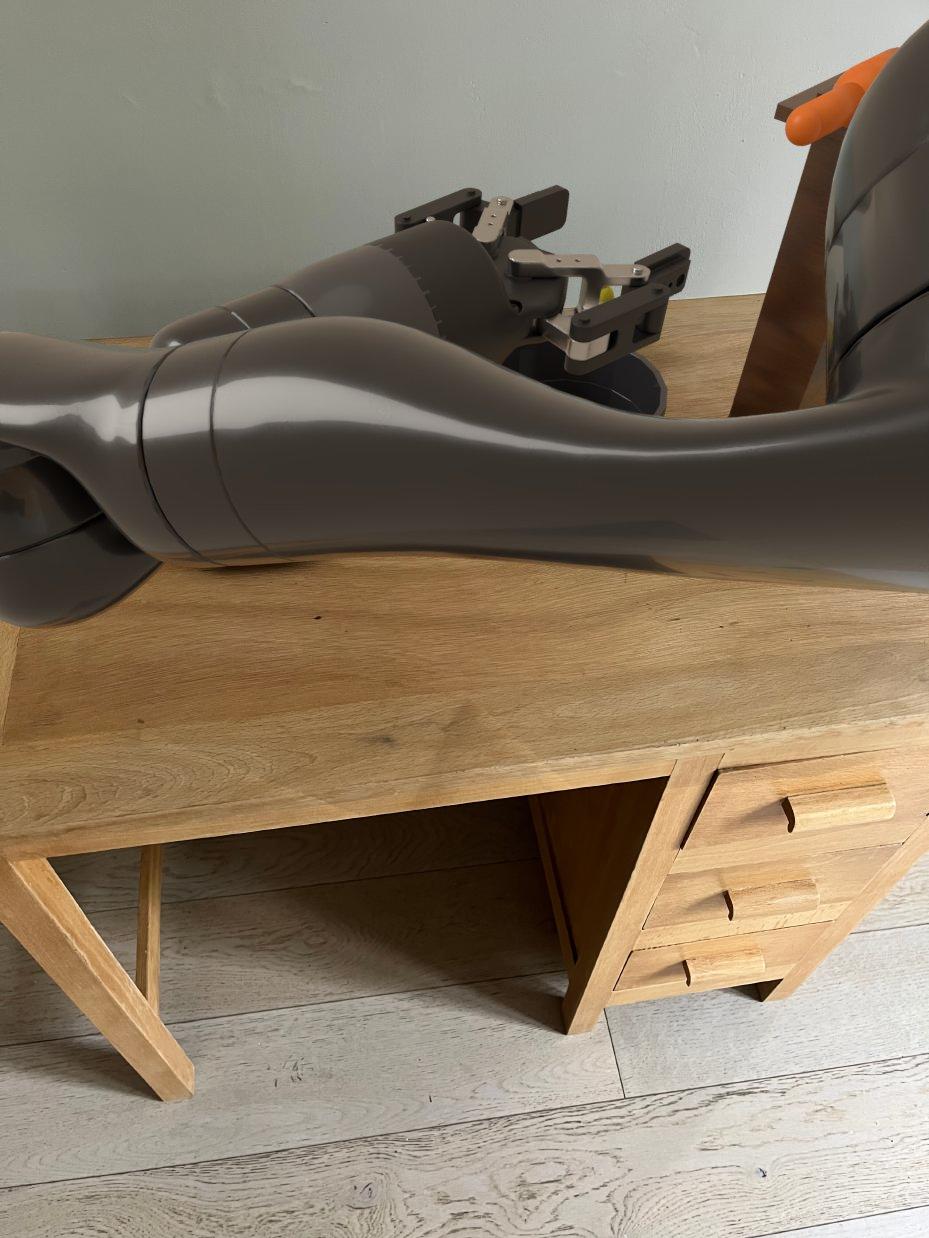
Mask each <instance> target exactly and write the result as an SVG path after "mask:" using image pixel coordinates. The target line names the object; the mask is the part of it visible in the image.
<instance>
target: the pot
mask: <svg viewBox="0 0 929 1238" xmlns="http://www.w3.org/2000/svg"><path fill="white" fill-rule="evenodd" d="M565 357H566V352H565V351H563V350H562V349H560V348H559V347H557V346H556V345H554V344H553V343H551V342H550V341H546V342H543V343H536V344H527V345H522V346H519V347H517V348H515V349H514V350H513V351H512V352H511V354H510V355H509V356H508V357H507V358H506V359H505V361H504V362H503V363H502V364H501V365H503V366H505V367H507V368H509V369H511V370H513V371H516V372H518V373H520V374H523V375H525V376H527V377H529V378H532V379H534V380H536V381H539V382H541V383H543V384H546V385H548V386H550V387H553V388H555V389H557V390H559V391H562V392H565V393H568V394H571V395H575V396H578V397H581V398H584V399H587V400H590V401H593V402H596V403H599V404H602V405H605V406H608V407H611V408H616V409H621V410H625V411H630V412H634V413H639V414H647V415H656V416H665V415H666V411H667V407H668V391H669V389H668V386H667V384H666V382H665V380H664V377H663V376H662V373H661V371H660V370H659V369H658V368H657V367H656V366H655V365H654V364H653V363H652V362H651V361H650V360H648V359H647V357H646V356H644V355H643V354H641V353H639V352H637V351H635V352H633V353H630V354H628V355H626V356H624V357H622V358H619V359H617V360H615V361H613V362H611V363H608V364H606V365H604V366H602V367H600V368H598V369H595V370H593V371H591V372H589V373H587V374H584V375H574V374H571V373H568V372H567V371H566V370H565V368H564V364H565ZM665 417H666V416H665Z"/></svg>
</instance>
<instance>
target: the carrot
mask: <svg viewBox="0 0 929 1238" xmlns="http://www.w3.org/2000/svg"><path fill="white" fill-rule="evenodd" d="M900 47H901V46H895V47H892V48H888V49H886V50H884V51H881V52H880V53H878V54H876V55H874V56H871V57H870V58H867V59H865V60H863V61H861V62H859V63H857V64H854V65H853V66H851V67H849V68H848V69H846V70H845V71H846V72H844V71H843V72H844V73H843V74H842V75H841V76H840V77H839V79H838V80H837V82H836V83H835V85H834V87H833V90H831V91H829V92H827V93H825V94H823V95H821V96H819V97H817V98H815V99H813V100H811V101H809V102H807V103H805V104H803V105H801V106H799V107H797V108H796V109H795V110H793V112H792V113H791V114H790V115H789V117H788V119H787V121H786V123H785V126H784V133H785V136H786V138H787V140H788V142H790V143H791V144H792V145H794V146H797V147H806V146H810V145H811V143H813V142H815V141H817V140H819V139H820V138H822V137H824V136H826V135H828V134H830V133H832V132H833V131H835V130H837V129H839V128H841V127H846V128H848V126H849V124H850V122H851V120H852V118H853V116H854V114H855V111H856V109H857V107H858V105H859V103H860V101H861V99H862V97H863V96H864V94H865V93H866V91H867V90H868V89H869V87H870V86H871V84H872V83H873V81H874V80H875V78H876V77H877V75H878V74H879V73H880V71H881V70H882V68H883V67H884V65H885V64H886V62H887V61H888V60H889V59H890V58H891V56H892V55H893V54H894V53H895V52H896V51H897V50H898V49H899V48H900Z"/></svg>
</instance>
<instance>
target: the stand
mask: <svg viewBox="0 0 929 1238" xmlns="http://www.w3.org/2000/svg"><path fill="white" fill-rule="evenodd" d="M846 71H847V70H845V71H842V72H840V73H838V74H836V75H833V76H832V77H829V78H827V79H825V80H823V81H821V82H819V83H817V84H815V85H813V86H810V87H809V88H807V89H805V90H802V91H800V92H798V93H796V94H794V95H792V96H790V97H787V98H786V99H783V100H781V101H779V102H777V104H776V108H775V112H774V116H773V119H774V120H777V121H778V122H779V121H780V122H782V123H785V124H786V121H787V119H788V117H789V115H790V114H791V113H792V112H793V110H795V109H796V108H797V107H799V106H801V105H803V104H805V103H807V102H809V101H811V100H813V99H815V98H817V97H819V96H821V95H823V94H825V93H827V92H829V91H831V90H833V87H834V85H835V83H836V82H837V80H838V79H839V77H840V76H841V75H842V74H843V73H844V72H846ZM847 129H848V128H846V127H841V128H839V129H837V130H835V131H833V132H832V133H830V134H828V135H826V136H824V137H822V138H820V139H819V140H817V141H815V142H813V143H811V144H810V145H809V149H808V153H807V156H806V159H805V162H804V166H803V169H802V172H801V176H800V178H799V183H798V186H797V188H796V193H795V194H794V195H795V196H794V198H793V202H792V206H791V208H790V211H789V215H788V218H787V222H786V224H785V225H786V226H785V228H784V232H783V235H782V238H781V242H780V244H779V245H780V246H779V248H778V251H777V255H776V258H775V261H774V265H773V268H772V272H771V275H770V278H769V282H768V285H767V287H766V290H765V291H766V292H765V296H764V299H763V301H762V305H761V308H760V312H759V314H758V318H757V322H756V325H755V328H754V331H753V334H752V338H751V341H750V344H749V348H748V350H747V351H748V352H747V355H746V357H745V360H744V364H743V368H742V371H741V374H740V377H739V381H738V384H737V387H736V390H735V393H734V397H733V401H732V403H731V408H730V410H729V414H728V416H727V417H726V418H732V417H743V416H752V415H761V414H770V413H779V412H786V411H792V410H799V409H805V408H811V407H817V406H823V405H826V403H825V399H826V354H825V282H826V278H825V272H824V264H825V233H826V220H827V212H828V206H829V200H830V194H831V188H832V183H833V177H834V173H835V170H836V166H837V162H838V158H839V154H840V150H841V146H842V143H843V140H844V137H845V134H846V132H847Z"/></svg>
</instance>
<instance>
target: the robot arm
mask: <svg viewBox="0 0 929 1238" xmlns="http://www.w3.org/2000/svg"><path fill="white" fill-rule="evenodd" d="M899 47H900V48H899V49H898V50H897V51H896V52H895V53H894V54H893V55H892V56H891V58H890V59H889V60H888V61H887V62H886V64H885V65H884V67H883V68H882V70H881V71H880V73H879V74H878V75H877V77H876V78H875V80H874V81H873V83H872V84H871V86H870V87H869V89H868V90H867V91H866V93H865V94H864V96H863V97H862V99H861V101H860V103H859V105H858V107H857V109H856V111H855V114H854V116H853V118H852V120H851V122H850V124H849V126H848V129H847V132H846V134H845V137H844V140H843V143H842V146H841V150H840V154H839V158H838V162H837V166H836V170H835V173H834V177H833V183H832V188H831V194H830V200H829V206H828V212H827V220H826V233H825V264H824V272H825V278H826V282H825V354H826V399H825V403H826V405H823V406H817V407H811V408H805V409H799V410H792V411H786V412H779V413H770V414H761V415H752V416H743V417H732V418H727V417H716V418H715V417H714V418H704V417H703V418H702V417H701V418H700V417H698V418H697V417H674V416H673V417H672V416H656V415H647V414H639V413H634V412H630V411H625V410H621V409H616V408H611V407H608V406H605V405H602V404H599V403H596V402H593V401H590V400H587V399H584V398H581V397H578V396H575V395H571V394H568V393H565V392H562V391H559V390H557V389H555V388H553V387H550V386H548V385H546V384H543V383H541V382H539V381H536V380H534V379H532V378H529V377H527V376H525V375H523V374H520V373H518V372H516V371H513V370H511V369H509V368H507V367H505V366H503V365H501V364H502V363H503V362H504V361H505V359H506V358H507V357H508V356H509V355H510V354H511V352H512V351H513V350H514V349H515V348H517V347H519V346H522V345H527V344H536V343H543V342H546V341H550V342H551V343H553V344H554V345H556V346H557V347H559V348H560V349H562V350H563V351H565V352H566V357H565V364H564V368H565V370H566V371H567V372H568V373H571V374H574V375H584V374H587V373H589V372H591V371H593V370H595V369H598V368H600V367H602V366H604V365H606V364H608V363H611V362H613V361H615V360H617V359H619V358H622V357H624V356H626V355H628V354H630V353H633V352H635V351H636V352H637V351H639V350H642V349H644V348H645V347H646V348H647V347H648V346H650V345H652V344H654V343H657V342H658V341H660V339H661V336H662V331H663V327H664V322H665V319H666V314H667V310H668V306H669V300H670V298H671V297H673V296H674V295H677V294H679V293H681V292H683V289H685V286H686V283H687V279H688V274H689V271H690V267H691V263H692V260H691V259H690V257H691V248H690V247H688V246H685V245H684V244H682V243H680V242H675V243H672V244H670V245H668V246H667V247H664V248H662V249H660V250H658V251H656V252H653V253H651V254H649V255H647V256H644V257H642V258H640V259H637V260H635V261H634V263H631V264H630V263H629V264H628V263H627V264H626V263H625V264H624V263H622V264H615V263H613V264H609V263H608V264H604V263H602V262H601V259H600V258H599V257H598V256H597V255H595V254H593V253H592V254H587V253H586V254H583V253H582V254H556V253H553V252H550V251H548V250H545V249H541V248H540V247H538V246H537V245H536V244H535V243H534V242H532V241H534V240H536V239H539V238H541V237H544V236H547V235H549V234H551V233H554V232H556V231H558V230H562V228H563V227H564V226H565V224H566V222H567V218H568V210H569V201H570V191H569V190H568V189H567V188H565V187H563V186H561V185H559V184H555V185H552V186H549V187H547V188H543V189H541V190H537V191H534V192H532V193H529V194H526V195H523V196H520V197H518V198H515V199H512V198H511V197H508V196H503V195H499V196H494V197H491V199H490V201H489V200H485V199H483V192H482V190H481V189H479V188H476V187H464V188H462V189H459V190H457V191H454V192H452V193H451V192H450V193H449V194H447V195H444V196H442V197H439V198H436V199H433V200H430V201H429V202H426V203H424V204H421V205H419V206H417V207H416V206H415V207H414V208H411V209H408V210H406V211H403V212H401V213H398V214H396V215H395V216H394V218H393V219H394V220H393V221H394V222H393V223H394V233H393V234H390V235H387V236H384V237H382V238H378V239H375V240H373V241H370V242H367V243H364V244H362V245H358V246H356V247H353V248H351V249H347V250H344V251H343V252H340V253H339V252H338V253H337V254H334V255H331V256H328V257H326V258H323V259H321V260H318V261H316V262H313V263H311V264H308V265H306V266H304V267H302V268H300V269H299V270H296V271H295V272H293V273H291V274H289V275H288V276H286V277H284V278H283V279H281V280H279V281H277V282H275V283H273V284H270V285H268V286H266V287H263V288H261V289H257V290H255V291H252V292H250V293H246V294H245V295H241V296H239V297H235V298H232V299H230V300H228V301H224V302H222V303H220V304H219V303H218V304H217V305H216V304H215V305H214V306H211V307H208V308H205V309H202V310H199V311H196V312H193V313H191V314H188V315H186V316H183V317H181V318H178V319H176V320H174V321H172V322H170V323H169V324H167V325H165V326H163V327H162V328H161V329H160V330H158V331H157V333H155V334H154V336H153V337H152V339H151V340H150V342H149V346H148V347H139V346H127V345H115V344H109V343H103V342H95V341H91V340H85V339H79V338H73V337H67V336H62V335H56V334H47V333H36V332H25V331H0V621H1V622H3V623H7V624H9V625H12V626H14V627H18V628H26V629H31V630H32V629H33V630H44V629H45V630H46V629H47V630H48V629H60V628H64V627H65V628H66V627H69V626H75V625H79V624H82V623H85V622H88V621H90V620H93V619H94V618H97V617H99V616H101V615H103V614H105V613H107V612H109V611H110V610H113V609H114V608H116V607H118V606H119V605H120V604H122V603H123V602H125V601H126V600H128V599H129V598H130V597H131V596H133V594H135V593H136V592H137V591H139V590H140V589H141V588H142V587H144V586H145V585H146V584H147V583H148V582H149V581H151V580H152V579H153V577H155V576H156V575H157V574H158V573H159V572H160V571H161V570H162V569H163V568H164V567H166V565H173V566H177V567H182V568H183V567H184V568H198V569H200V568H201V569H203V568H204V569H206V568H207V569H208V568H221V567H222V568H223V567H234V566H253V565H267V564H283V563H297V562H310V561H325V560H338V559H351V558H353V559H354V558H387V557H388V558H389V557H390V558H392V557H396V558H397V557H405V558H406V557H408V558H409V557H411V558H416V557H417V558H444V559H445V558H446V559H461V560H479V561H492V562H503V563H514V564H515V563H516V564H527V565H537V566H538V565H539V566H550V567H551V566H552V567H559V568H560V567H561V568H568V569H569V568H570V569H577V570H590V571H600V572H601V571H602V572H612V573H623V574H624V573H626V574H635V575H648V576H658V577H659V576H660V577H674V578H684V579H686V578H687V579H698V580H714V581H715V580H716V581H729V582H730V581H732V582H748V583H761V584H762V583H763V584H776V585H789V586H790V585H791V586H804V587H821V588H833V589H835V588H836V589H848V590H849V589H850V590H863V591H876V592H877V591H879V592H894V593H909V594H923V595H929V19H927V20H926V21H925V22H924V23H923V24H922V25H921V26H919V27H918V28H917V29H916V30H915V31H914V32H913V33H912V34H910V35H909V37H908V38H907V39H906V40H905V41H904V42H903V43H902V44H901V45H900V46H899ZM458 214H459V224H457V223H454V220H455V217H456V216H457V215H458ZM570 278H581V283H580V289H579V297H578V303H577V305H576V306H575V307H574V308H573V309H570V310H564V309H565V304H566V302H567V301H566V300H567V294H568V288H569V279H570ZM605 286H610V287H617V286H618V287H621V290H620V295H619V296H617V297H614V299H612V300H609V301H607V302H599V300H600V294H601V290H602V289H603V288H604V287H605Z"/></svg>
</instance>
